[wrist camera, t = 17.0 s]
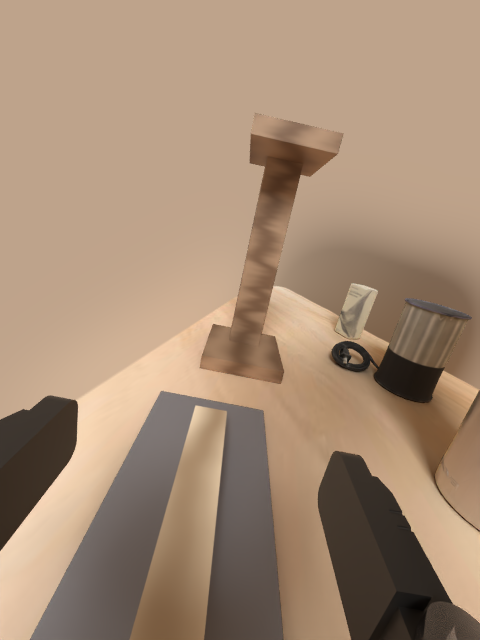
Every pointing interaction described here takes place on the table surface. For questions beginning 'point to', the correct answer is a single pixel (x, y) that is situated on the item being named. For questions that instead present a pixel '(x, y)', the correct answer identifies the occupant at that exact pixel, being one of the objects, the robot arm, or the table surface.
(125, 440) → the table surface
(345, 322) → the box
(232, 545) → the charcoal mat
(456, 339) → the milk frother
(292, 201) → the walnut pedestal
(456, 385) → the table surface
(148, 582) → the birch bar
